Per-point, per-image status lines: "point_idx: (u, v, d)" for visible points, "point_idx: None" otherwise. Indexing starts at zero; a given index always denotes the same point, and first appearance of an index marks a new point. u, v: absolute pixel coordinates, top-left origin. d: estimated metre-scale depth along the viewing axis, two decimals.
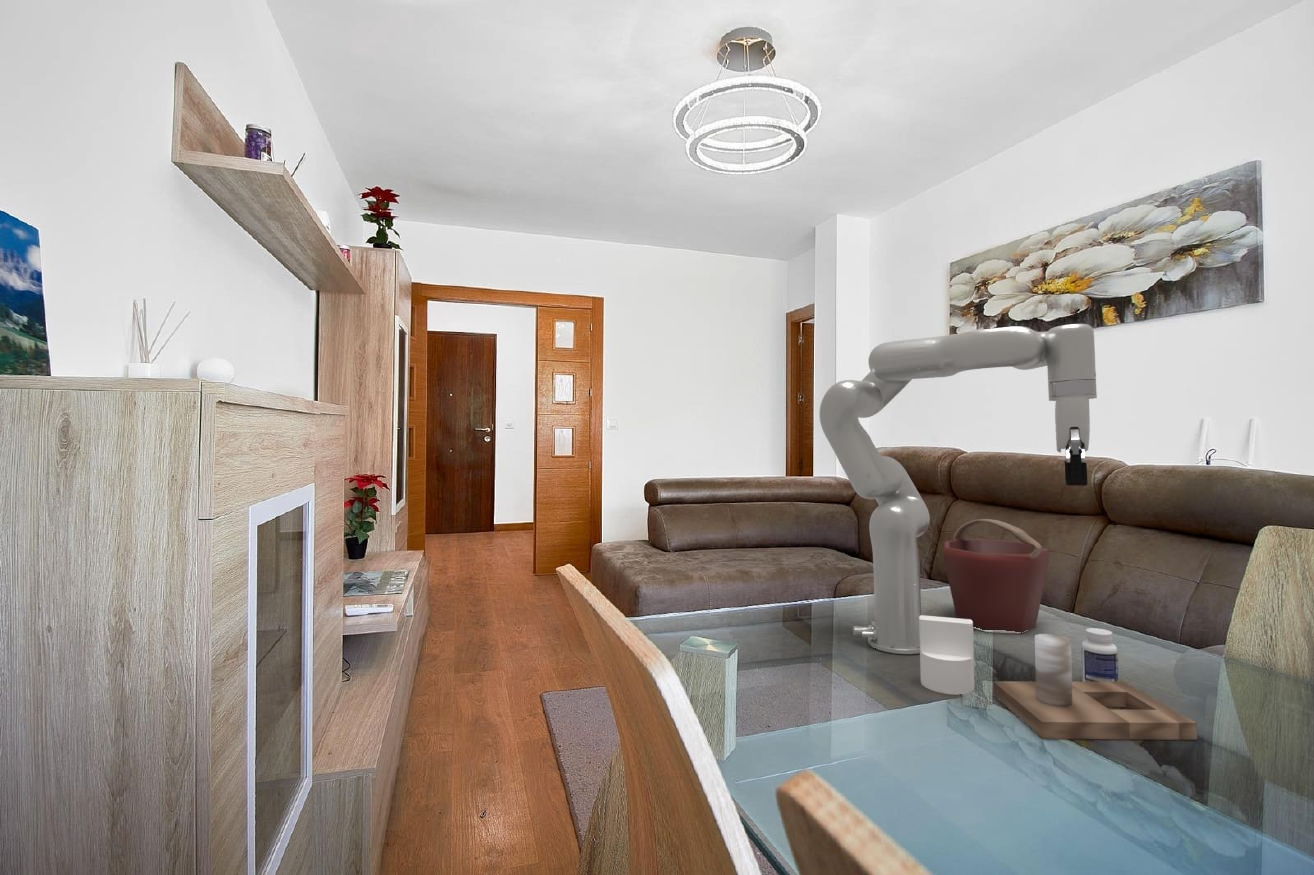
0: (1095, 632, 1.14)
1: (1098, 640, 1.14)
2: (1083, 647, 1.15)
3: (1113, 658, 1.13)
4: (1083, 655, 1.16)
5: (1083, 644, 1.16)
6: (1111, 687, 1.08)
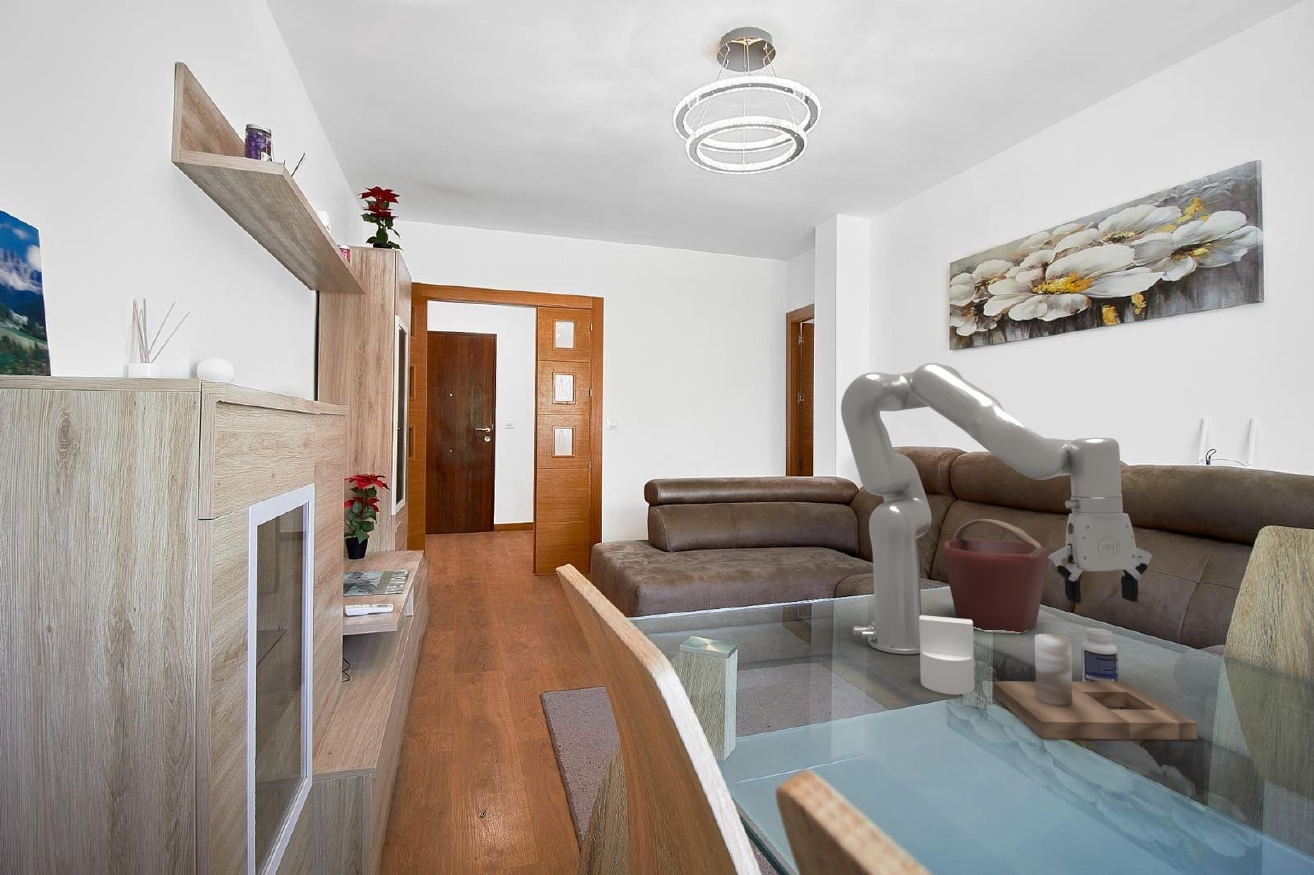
0: (1095, 632, 1.14)
1: (1098, 640, 1.14)
2: (1083, 647, 1.15)
3: (1113, 658, 1.13)
4: (1083, 655, 1.16)
5: (1083, 644, 1.16)
6: (1111, 687, 1.08)
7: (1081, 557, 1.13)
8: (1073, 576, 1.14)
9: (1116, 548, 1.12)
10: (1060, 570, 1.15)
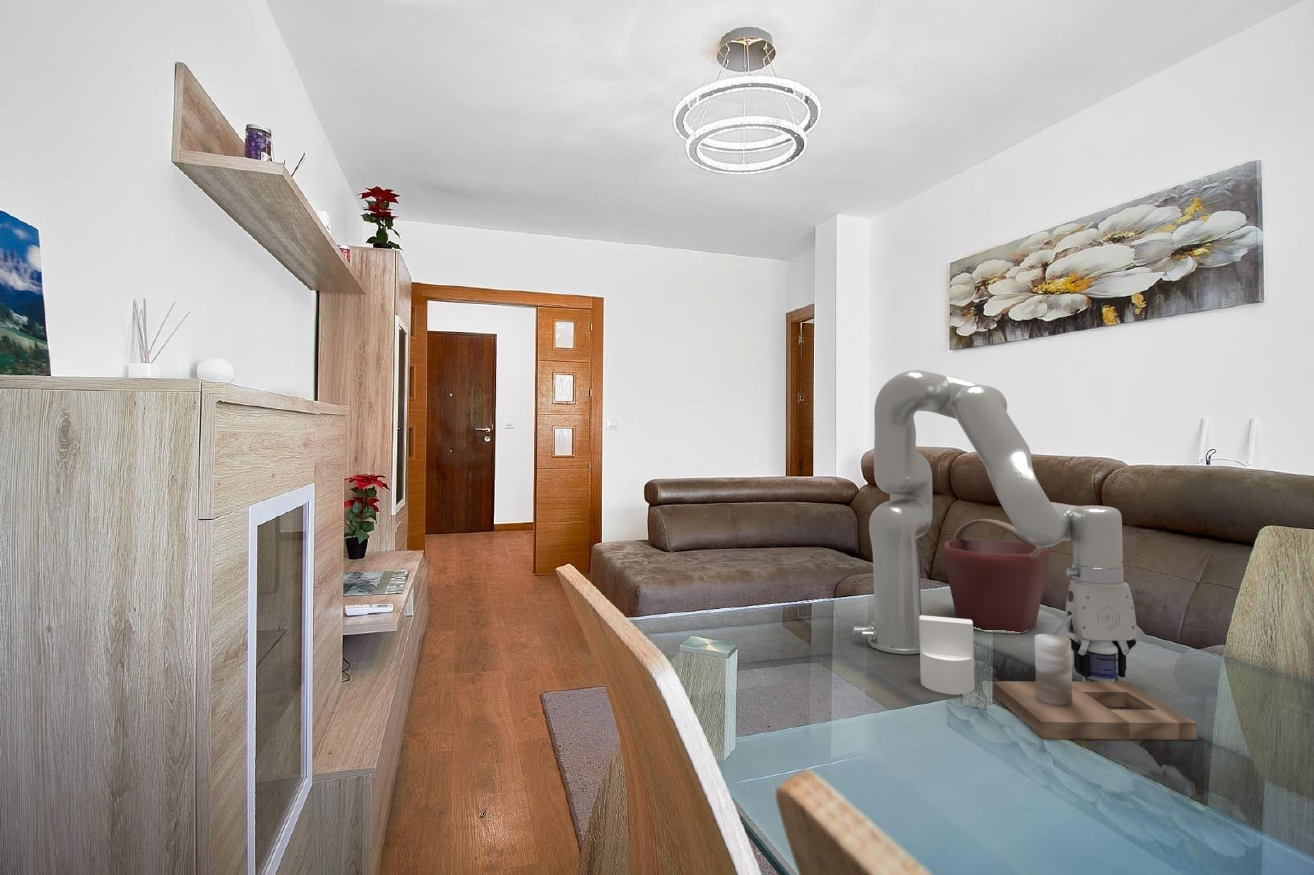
0: None
1: None
2: None
3: (1113, 658, 1.13)
4: None
5: None
6: (1111, 687, 1.08)
7: (1080, 627, 1.13)
8: (1082, 650, 1.14)
9: (1116, 619, 1.12)
10: None
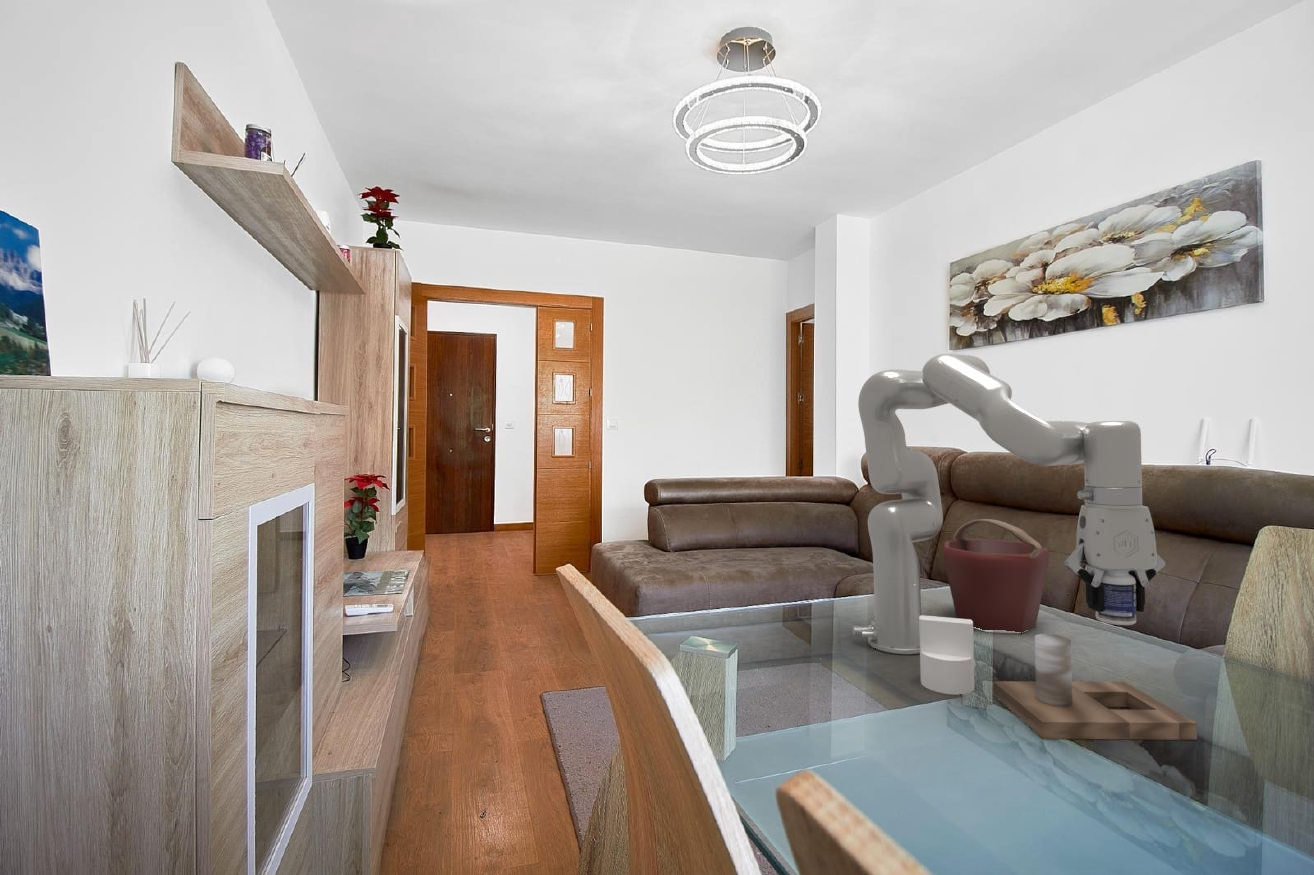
0: None
1: (1114, 570, 1.01)
2: None
3: (1130, 589, 1.00)
4: None
5: None
6: (1111, 687, 1.08)
7: (1094, 554, 1.00)
8: (1095, 581, 1.02)
9: (1134, 545, 1.00)
10: (1081, 574, 1.02)
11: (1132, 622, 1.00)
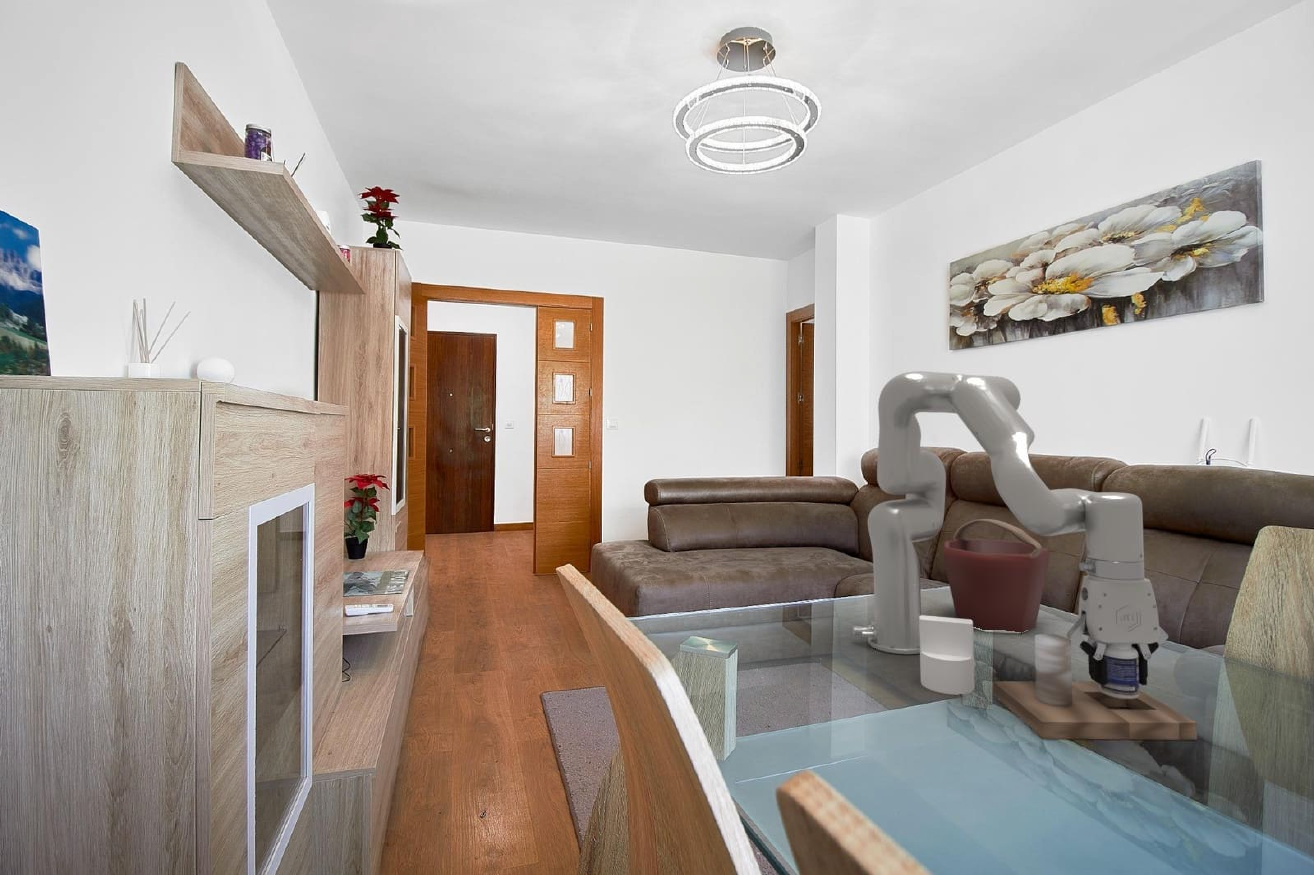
0: None
1: None
2: None
3: (1133, 663, 1.00)
4: None
5: None
6: None
7: (1096, 628, 1.00)
8: (1098, 654, 1.02)
9: (1136, 619, 1.00)
10: (1084, 647, 1.02)
11: (1135, 696, 1.00)
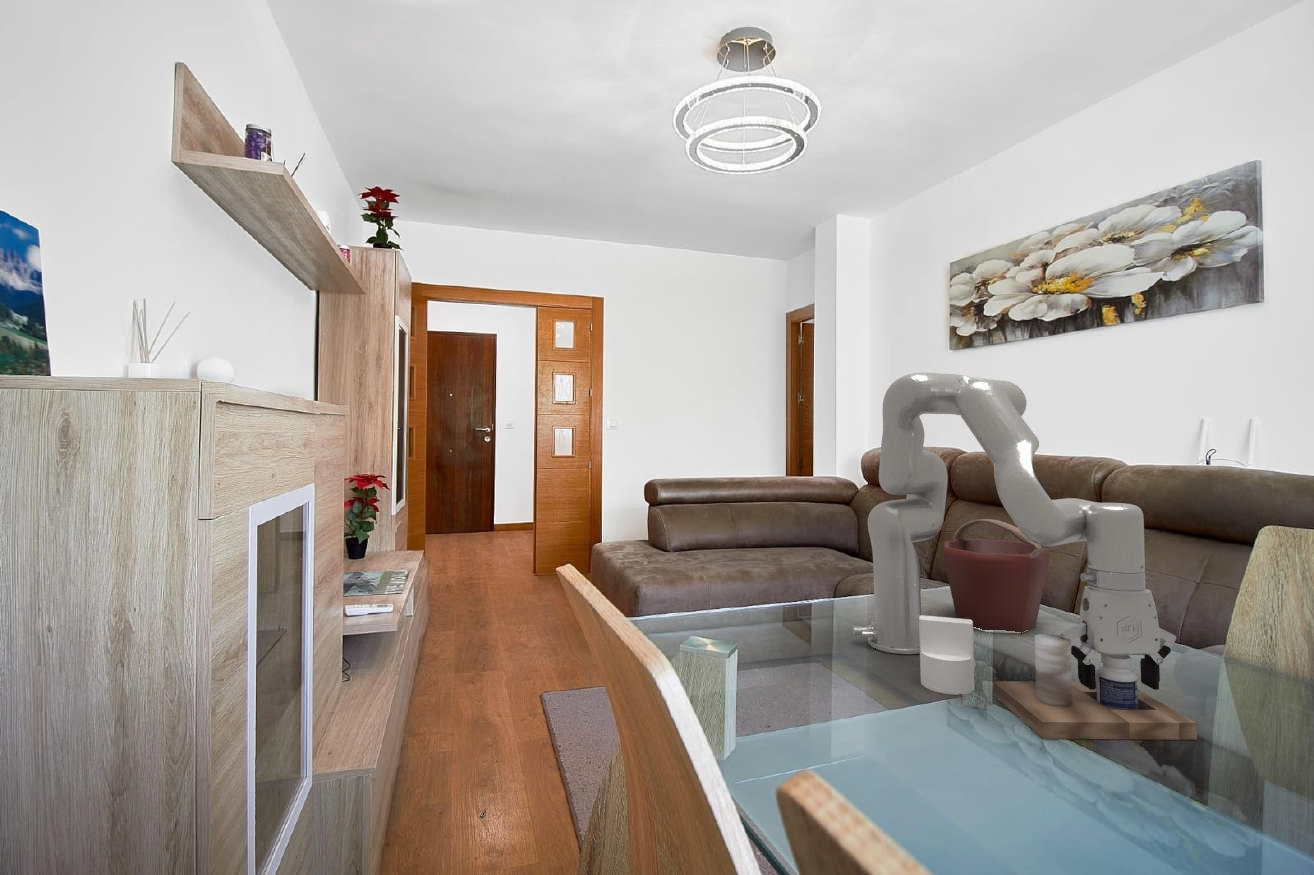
0: (1112, 657, 1.02)
1: (1115, 666, 1.01)
2: (1098, 673, 1.03)
3: (1132, 687, 1.00)
4: (1098, 682, 1.03)
5: (1098, 670, 1.03)
6: None
7: (1097, 639, 1.00)
8: (1088, 659, 1.02)
9: (1137, 630, 1.00)
10: (1073, 652, 1.02)
11: None
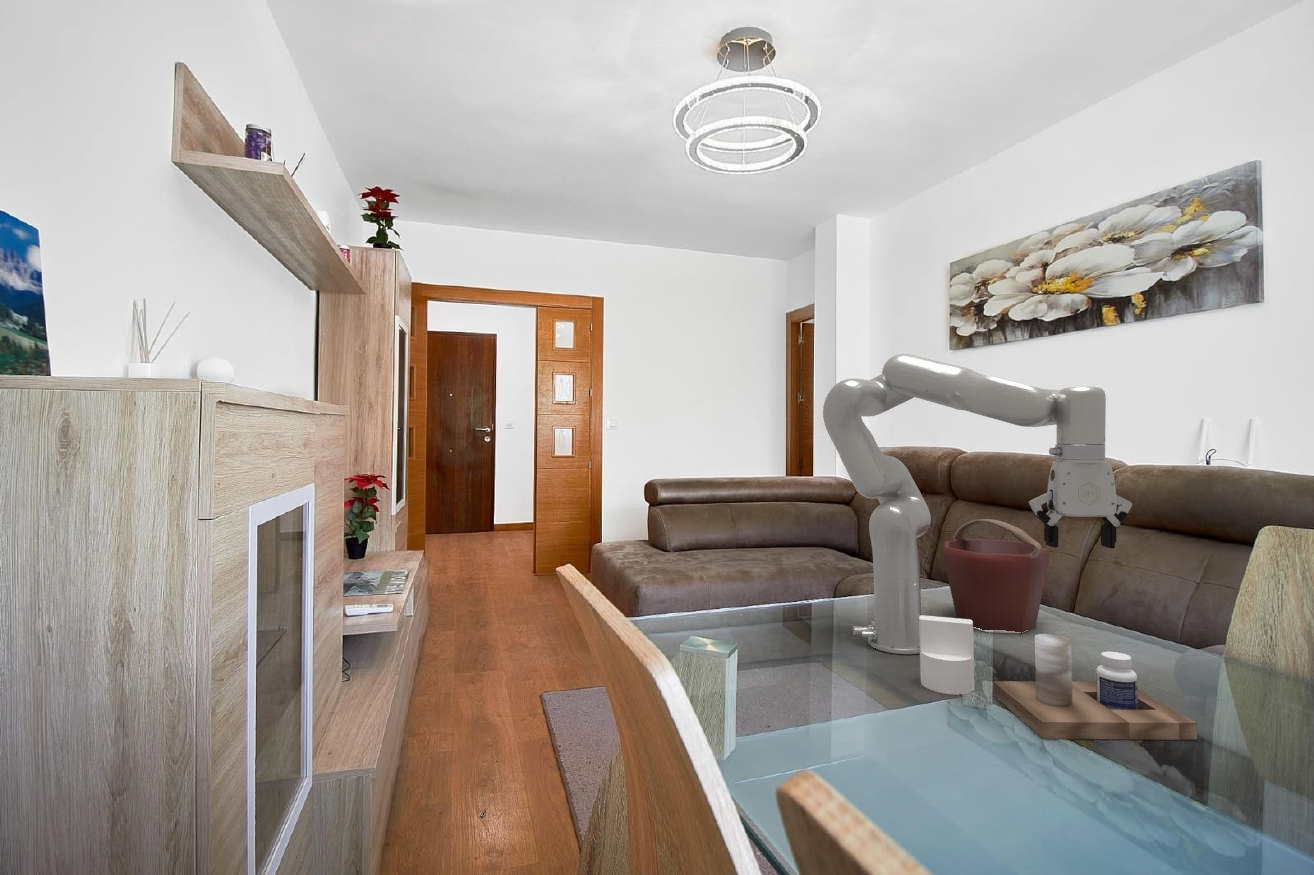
0: (1112, 657, 1.02)
1: (1116, 666, 1.01)
2: (1099, 673, 1.03)
3: (1132, 687, 1.00)
4: (1098, 682, 1.03)
5: (1098, 670, 1.03)
6: None
7: (1060, 502, 1.15)
8: (1052, 521, 1.17)
9: (1096, 495, 1.14)
10: (1039, 515, 1.17)
11: None
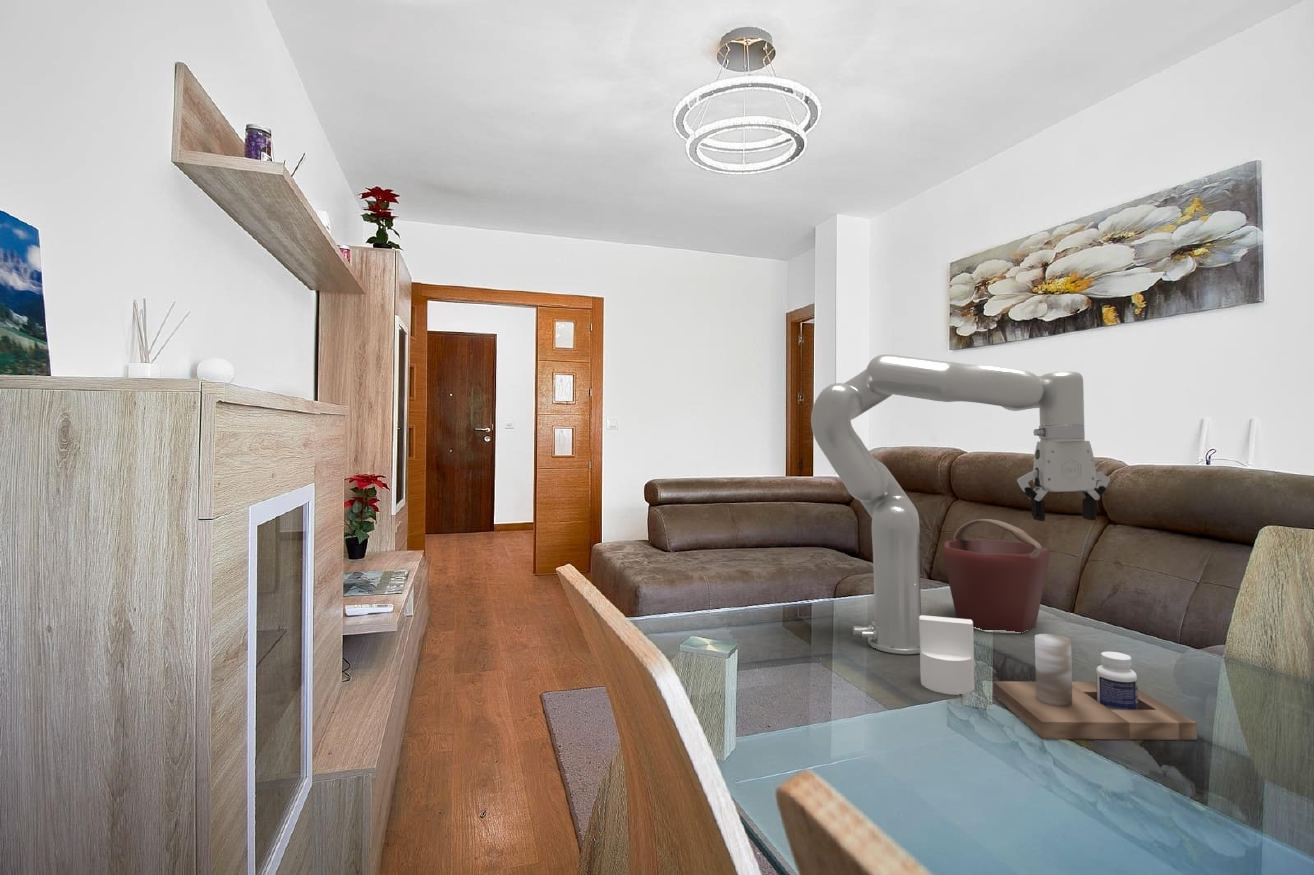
0: (1112, 657, 1.02)
1: (1116, 666, 1.01)
2: (1099, 673, 1.03)
3: (1132, 687, 1.00)
4: (1098, 682, 1.03)
5: (1098, 670, 1.03)
6: None
7: (1046, 479, 1.25)
8: (1038, 496, 1.26)
9: (1077, 471, 1.24)
10: (1027, 491, 1.27)
11: None
